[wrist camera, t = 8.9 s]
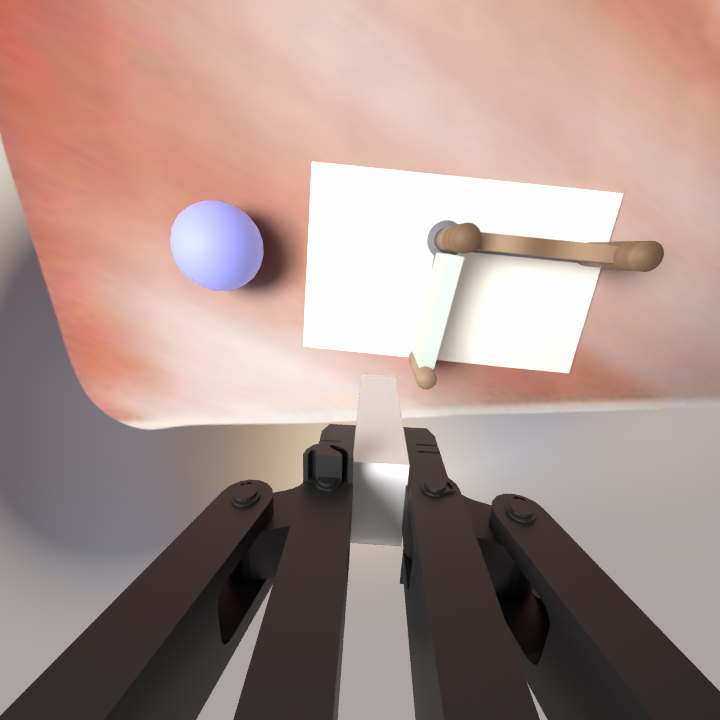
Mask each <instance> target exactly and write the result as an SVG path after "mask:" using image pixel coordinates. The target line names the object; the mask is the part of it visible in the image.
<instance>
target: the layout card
mask: <svg viewBox="0 0 720 720" xmlns="http://www.w3.org/2000/svg"><path fill="white" fill-rule="evenodd" d="M623 194H624V193H614V192H604V191H594V190H585V189H575V188H565V187H555V186H545V185H536V184H526V183H516V182H506V181H497V180H487V179H477V178H467V177H458V176H448V175H438V174H428V173H418V172H409V171H399V170H389V169H379V168H370V167H360V166H350V165H340V164H331V163H321V162H312V169H311V190H310V212H309V233H308V254H307V275H306V296H305V317H304V339H303V346H304V347H313V348H323V349H333V350H343V351H353V352H363V353H373V354H383V355H392V356H402V357H409V354H410V352H411V351H412V349H413V345H414V341H415V337H416V333H417V329H418V325H419V321H420V317H421V313H422V309H423V305H424V301H425V297H426V292H427V288H428V284H429V280H430V276H431V272H432V268H433V264H434V260H435V256H436V253H444V254H451V255H456V256H461V257H464V260H463V264H462V268H461V271H460V275H459V279H458V282H457V286H456V290H455V293H454V297H453V301H452V304H451V308H450V312H449V315H448V319H447V323H446V327H445V330H444V334H443V338H442V341H441V345H440V349H439V352H438V356H437V360H442V361H452V362H461V363H471V364H481V365H491V366H501V367H511V368H521V369H530V370H540V371H550V372H560V373H569V371H570V368H571V365H572V361H573V358H574V355H575V352H576V348H577V345H578V342H579V339H580V335H581V332H582V329H583V325H584V322H585V319H586V316H587V312H588V309H589V306H590V302H591V299H592V296H593V293H594V289H595V286H596V283H597V279H598V276H599V273H600V270H601V268H599V267H588V266H582V265H580V264H579V263H578V261H577V260H567V259H557V258H547V257H537V256H528V255H518V254H508V253H498V252H488V251H479V250H474V251H472V252H470V253H453V252H442V251H440V250H438V249H437V248H436V246H435V244H434V238H435V235H436V233H437V232H438V231H439V230H440V229H442V228H446V227H450V226H454V225H458V224H462V223H466V222H470V223H473V224H475V225H476V226H477V227H478V228H479V229H480V232H485V233H495V234H504V235H514V236H524V237H534V238H544V239H553V240H563V241H573V242H583V243H588V242H609V240H610V237H611V233H612V230H613V227H614V224H615V220H616V217H617V214H618V211H619V207H620V204H621V201H622V197H623Z"/></svg>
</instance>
